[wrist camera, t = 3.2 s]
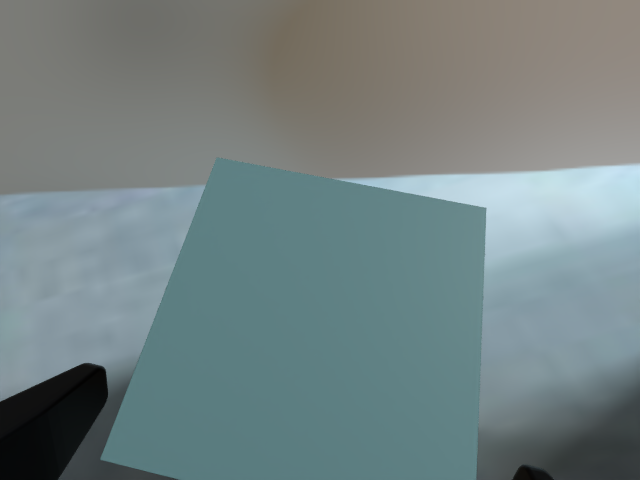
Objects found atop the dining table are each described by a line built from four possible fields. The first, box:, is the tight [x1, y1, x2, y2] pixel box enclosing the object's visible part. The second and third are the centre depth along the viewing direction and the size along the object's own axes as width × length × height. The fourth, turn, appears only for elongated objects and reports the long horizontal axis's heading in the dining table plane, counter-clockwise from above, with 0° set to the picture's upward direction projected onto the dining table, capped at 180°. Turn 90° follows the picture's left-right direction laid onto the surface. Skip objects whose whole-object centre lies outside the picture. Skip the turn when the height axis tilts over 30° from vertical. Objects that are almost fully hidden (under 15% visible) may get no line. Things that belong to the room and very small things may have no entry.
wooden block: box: [100, 158, 486, 480], centre depth 11 cm, size 4×4×13 cm
